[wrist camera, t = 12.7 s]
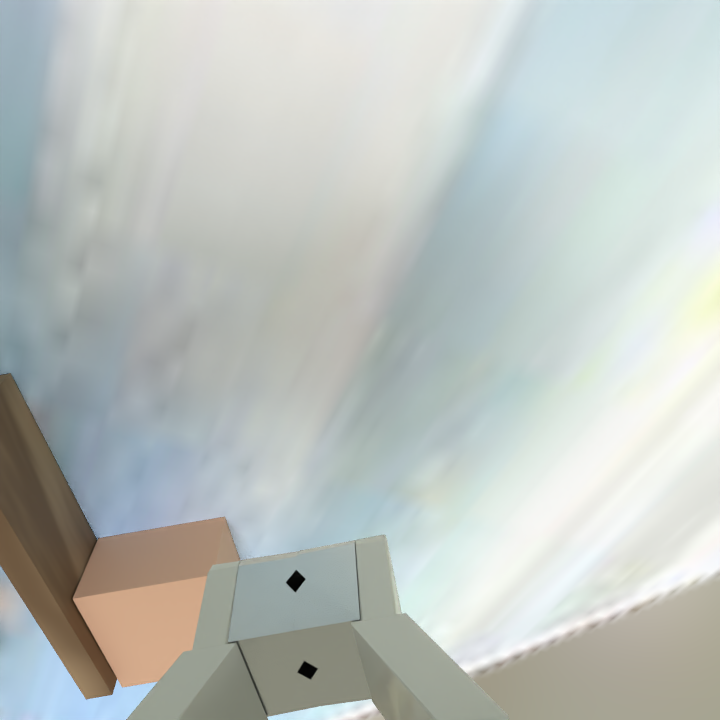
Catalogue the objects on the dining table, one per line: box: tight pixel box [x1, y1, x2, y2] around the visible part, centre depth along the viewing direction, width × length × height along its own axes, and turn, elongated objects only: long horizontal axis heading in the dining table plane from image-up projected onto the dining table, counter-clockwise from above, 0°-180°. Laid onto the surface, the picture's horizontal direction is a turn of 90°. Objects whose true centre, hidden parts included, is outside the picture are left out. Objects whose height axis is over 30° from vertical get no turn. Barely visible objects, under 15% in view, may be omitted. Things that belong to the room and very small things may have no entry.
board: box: [0, 373, 117, 699], centre depth 43 cm, size 2×24×7 cm, turn 10°
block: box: [73, 517, 240, 687], centre depth 47 cm, size 10×10×6 cm
